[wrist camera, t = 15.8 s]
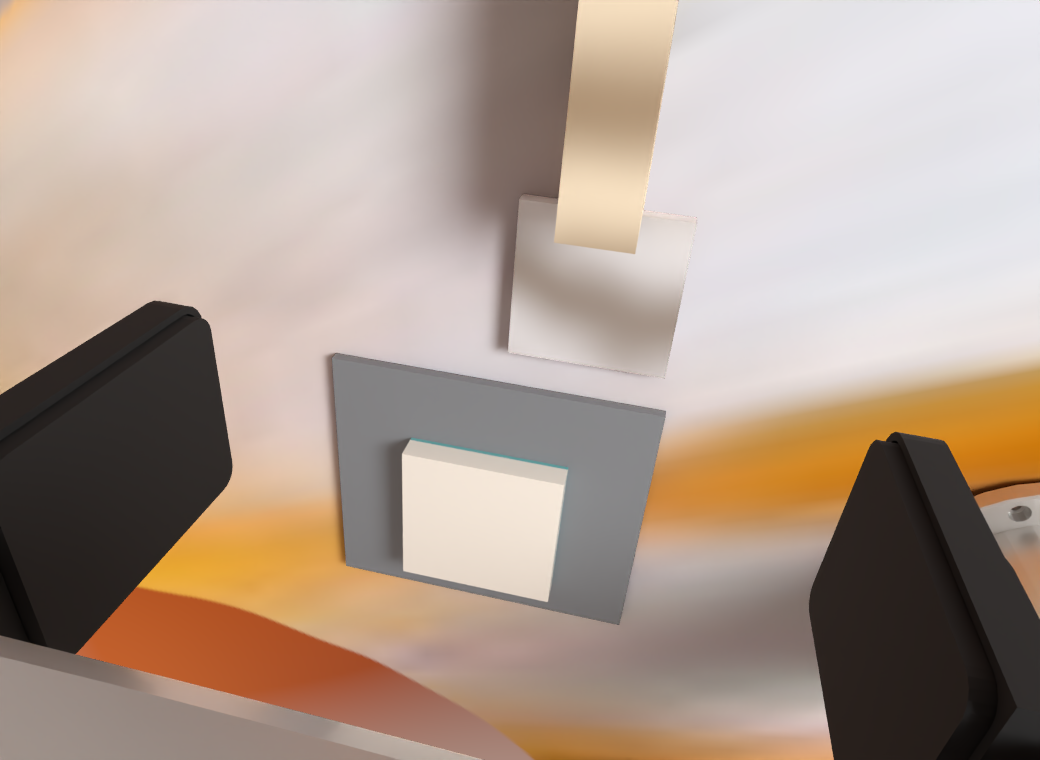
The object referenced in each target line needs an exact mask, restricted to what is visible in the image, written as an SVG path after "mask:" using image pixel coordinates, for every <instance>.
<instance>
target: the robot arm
mask: <svg viewBox="0 0 1040 760" xmlns="http://www.w3.org/2000/svg"><path fill="white" fill-rule="evenodd" d="M231 474H232V458H231V452H230V446H229V439H228V433H227V427H226V421H225V414H224V408H223V402H222V396H221V389H220V383H219V377H218V371H217V365H216V358H215V352H214V346H213V340H212V333H211V329H210V325H209V324H208V322H207V321H206V320H204V319H202V318H201V315H200V313H199V312H198V310H196V309H195V308H193V307H189V306H184V305H178V304H172V303H167V302H161V301H152V302H150V303H147V304H146V305H144V306H143V307H141V308H139V309H138V310H136V311H134V312H133V313H131V314H130V315H128V316H126V317H125V318H123V319H122V320H120V321H118V322H117V323H115V324H114V325H112V326H110V327H109V328H107V329H105V330H104V331H102V332H101V333H99V334H97V335H96V336H94V337H93V338H91V339H89V340H88V341H86V342H85V343H83V344H81V345H80V346H78V347H76V348H75V349H73V350H72V351H70V352H68V353H67V354H65V355H64V356H62V357H60V358H59V359H57V360H56V361H54V362H52V363H51V364H49V365H47V366H46V367H44V368H43V369H41V370H39V371H38V372H36V373H35V374H33V375H31V376H30V377H28V378H27V379H25V380H23V381H22V382H20V383H18V384H17V385H15V386H14V387H12V388H10V389H9V390H7V391H6V392H4V393H2V394H1V395H0V760H483V759H480V758H476V757H472V756H468V755H465V754H461V753H457V752H453V751H449V750H446V749H442V748H438V747H433V746H430V745H426V744H422V743H418V742H415V741H411V740H407V739H403V738H399V737H395V736H392V735H388V734H384V733H380V732H376V731H372V730H368V729H364V728H361V727H357V726H353V725H349V724H345V723H341V722H337V721H334V720H330V719H326V718H322V717H318V716H314V715H311V714H307V713H303V712H299V711H295V710H291V709H287V708H283V707H279V706H276V705H271V704H268V703H264V702H260V701H256V700H252V699H248V698H245V697H241V696H237V695H233V694H229V693H225V692H221V691H217V690H214V689H210V688H206V687H202V686H198V685H194V684H190V683H186V682H182V681H178V680H174V679H170V678H166V677H163V676H159V675H155V674H151V673H147V672H143V671H139V670H135V669H131V668H127V667H123V666H119V665H115V664H111V663H107V662H103V661H99V660H95V659H91V658H87V657H83V656H79V655H75V654H76V653H77V652H78V651H79V650H80V649H81V648H82V647H83V646H84V644H85V643H86V642H87V641H88V640H89V639H90V638H91V637H92V636H93V634H94V633H95V632H96V631H97V630H98V629H99V628H100V627H101V625H102V624H103V623H104V622H105V621H106V620H107V619H108V618H109V617H110V615H111V614H112V613H113V612H114V611H115V610H116V609H117V608H118V607H119V606H120V604H121V603H122V602H123V601H124V600H125V599H126V598H127V597H128V595H129V594H130V593H131V592H132V591H133V590H134V589H135V588H136V587H137V586H138V584H139V583H140V582H141V581H142V580H143V579H144V578H145V577H146V576H147V574H148V573H149V572H150V571H151V570H152V569H153V568H154V567H155V566H156V564H157V563H158V562H159V561H160V560H161V559H162V558H163V557H164V556H165V554H166V553H167V552H168V551H169V550H170V549H171V548H172V547H173V546H174V544H175V543H176V542H177V541H178V540H179V539H180V538H181V537H182V536H183V534H184V533H185V532H186V531H187V530H188V529H189V528H190V527H191V526H192V524H193V523H194V522H195V521H196V520H197V519H198V518H199V517H200V516H201V514H202V513H203V512H204V511H205V510H206V509H207V508H208V507H209V506H210V504H211V503H212V502H213V501H214V500H215V499H216V498H217V497H218V496H219V494H220V493H221V492H222V491H223V490H224V489H225V487H226V486H227V484H228V482H229V480H230V478H231ZM809 613H810V620H811V626H812V632H813V638H814V644H815V650H816V656H817V661H818V667H819V673H820V679H821V685H822V691H823V697H824V703H825V709H826V715H827V721H828V727H829V733H830V739H831V745H832V751H833V757H834V760H1040V483H1031V484H1020V485H1014V486H1010V487H1005V488H1001V489H996V490H992V491H988V492H984V493H982V494H979V495H976V496H973V494H972V492H971V490H970V488H969V486H968V484H967V482H966V480H965V478H964V477H963V475H962V473H961V471H960V469H959V467H958V465H957V463H956V461H955V459H954V457H953V455H952V453H951V451H950V449H949V447H948V445H947V444H946V443H945V442H944V441H942V440H938V439H933V438H927V437H921V436H916V435H910V434H904V433H899V432H894V433H892V434H891V435H890V436H889V437H888V438H887V440H886V441H880V440H875V441H874V442H873V443H872V444H871V446H870V447H869V449H868V452H867V454H866V457H865V459H864V461H863V464H862V466H861V469H860V471H859V474H858V476H857V479H856V481H855V483H854V486H853V488H852V491H851V493H850V496H849V498H848V500H847V503H846V505H845V508H844V510H843V513H842V515H841V518H840V520H839V522H838V525H837V527H836V530H835V532H834V535H833V537H832V539H831V542H830V544H829V547H828V549H827V552H826V554H825V556H824V559H823V561H822V564H821V566H820V569H819V571H818V574H817V576H816V578H815V581H814V583H813V586H812V589H811V594H810V601H809Z"/></svg>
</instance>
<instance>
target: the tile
mask: <svg viewBox="0 0 1040 760" xmlns="http://www.w3.org/2000/svg"><path fill="white" fill-rule="evenodd" d="M568 468H569V467H564V466H559V465H553V464H548V463H543V462H537V461H532V460H527V459H522V458H516V457H511V456H506V455H501V454H495V453H490V452H485V451H479V450H474V449H469V448H464V447H458V446H453V445H448V444H443V443H437V442H432V441H427V440H422V439H416V438H411V439H410V441H409V443H408V444H407V446H406V448H405V450H404V451H403V453H402V503H403V571H406V572H410V573H415V574H420V575H424V576H429V577H433V578H438V579H443V580H447V581H452V582H457V583H461V584H466V585H470V586H475V587H480V588H484V589H489V590H494V591H498V592H503V593H507V594H512V595H517V596H521V597H526V598H531V599H535V600H540V601H545V602H548V598H549V594H550V589H551V585H552V579H553V572H554V565H555V558H556V551H557V544H558V537H559V530H560V523H561V516H562V509H563V502H564V495H565V489H566V482H567V475H568Z"/></svg>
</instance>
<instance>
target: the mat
mask: <svg viewBox="0 0 1040 760" xmlns="http://www.w3.org/2000/svg"><path fill="white" fill-rule="evenodd" d="M332 367H333V382H334V396H335V411H336V425H337V440H338V454H339V469H340V484H341V498H342V513H343V527H344V542H345V556H346V566H350V567H354V568H359V569H363V570H368V571H373V572H377V573H382V574H386V575H391V576H396V577H400V578H405V579H410V580H414V581H419V582H423V583H428V584H433V585H437V586H442V587H446V588H451V589H456V590H460V591H465V592H469V593H474V594H479V595H483V596H488V597H492V598H497V599H502V600H506V601H511V602H515V603H520V604H525V605H529V606H534V607H538V608H543V609H548V610H552V611H557V612H561V613H566V614H571V615H575V616H580V617H584V618H589V619H594V620H598V621H603V622H607V623H612V624H617V625H619V623H620V619H621V614H622V610H623V605H624V601H625V596H626V592H627V587H628V583H629V578H630V574H631V569H632V565H633V560H634V556H635V551H636V547H637V542H638V538H639V533H640V529H641V524H642V520H643V515H644V511H645V506H646V502H647V497H648V493H649V488H650V484H651V479H652V475H653V470H654V466H655V461H656V457H657V452H658V448H659V443H660V439H661V434H662V430H663V425H664V421H665V414H666V411H662V410H656V409H651V408H645V407H639V406H634V405H628V404H622V403H616V402H611V401H605V400H599V399H594V398H588V397H582V396H577V395H571V394H565V393H560V392H554V391H548V390H543V389H537V388H531V387H526V386H520V385H514V384H508V383H503V382H497V381H491V380H486V379H480V378H474V377H469V376H463V375H457V374H452V373H446V372H440V371H435V370H429V369H423V368H418V367H412V366H406V365H401V364H395V363H389V362H383V361H378V360H372V359H366V358H361V357H355V356H349V355H344V354H338V353H336V354H335V355H334V356H333V357H332ZM411 438H416V439H422V440H427V441H432V442H437V443H443V444H448V445H453V446H458V447H464V448H469V449H474V450H479V451H485V452H490V453H495V454H501V455H506V456H511V457H516V458H522V459H527V460H532V461H537V462H543V463H548V464H553V465H559V466H564V467H569V468H568V475H567V482H566V489H565V495H564V502H563V509H562V516H561V523H560V530H559V537H558V544H557V551H556V558H555V565H554V572H553V579H552V585H551V589H550V594H549V598H548V602H545V601H540V600H535V599H531V598H526V597H521V596H517V595H512V594H507V593H503V592H498V591H494V590H489V589H484V588H480V587H475V586H470V585H466V584H461V583H457V582H452V581H447V580H443V579H438V578H433V577H429V576H424V575H420V574H415V573H410V572H406V571H403V503H402V453H403V451H404V450H405V448H406V446H407V444H408V443H409V441H410V439H411Z"/></svg>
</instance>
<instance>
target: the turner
mask: <svg viewBox="0 0 1040 760" xmlns="http://www.w3.org/2000/svg"><path fill="white" fill-rule="evenodd" d="M678 1H679V0H579V3H578V13H577V23H576V33H575V42H574V52H573V62H572V71H571V81H570V91H569V101H568V110H567V120H566V130H565V140H564V149H563V159H562V169H561V179H560V188H559V198H558V199H557V198H550V197H542V196H535V195H528V194H522V196H521V197H520V199H519V207H518V221H517V234H516V248H515V262H514V275H513V289H512V302H511V316H510V329H509V343H508V353H513V354H519V355H525V356H531V357H537V358H544V359H550V360H556V361H562V362H568V363H574V364H580V365H586V366H592V367H598V368H604V369H610V370H616V371H622V372H628V373H634V374H640V375H646V376H652V377H658V378H664V379H665V375H666V370H667V365H668V360H669V355H670V351H671V346H672V341H673V336H674V332H675V327H676V322H677V317H678V312H679V308H680V303H681V298H682V293H683V289H684V284H685V279H686V274H687V269H688V265H689V260H690V255H691V250H692V245H693V241H694V236H695V231H696V226H697V217H691V216H683V215H676V214H668V213H661V212H654V211H646V210H644V204H645V198H646V192H647V186H648V180H649V174H650V168H651V163H652V157H653V151H654V145H655V139H656V133H657V127H658V121H659V115H660V109H661V103H662V97H663V91H664V85H665V79H666V73H667V67H668V61H669V55H670V49H671V43H672V37H673V31H674V25H675V19H676V13H677V7H678Z"/></svg>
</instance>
